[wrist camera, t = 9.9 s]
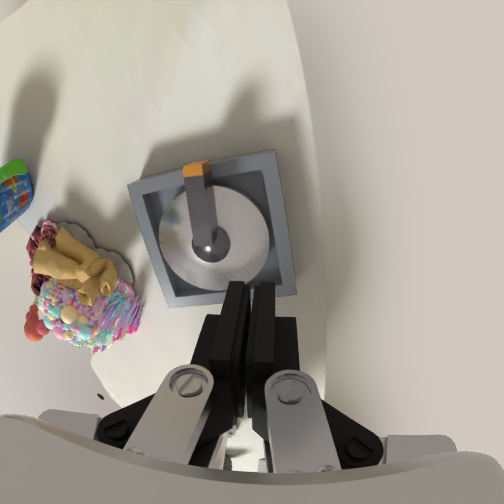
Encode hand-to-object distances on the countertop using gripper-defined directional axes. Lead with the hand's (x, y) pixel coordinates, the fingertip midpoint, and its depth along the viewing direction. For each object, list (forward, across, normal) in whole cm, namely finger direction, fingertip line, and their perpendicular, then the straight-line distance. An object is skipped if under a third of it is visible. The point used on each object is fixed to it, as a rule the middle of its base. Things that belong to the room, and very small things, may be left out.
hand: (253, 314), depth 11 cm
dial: (+20, +6, +4) cm, 21 cm away
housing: (+22, +6, +5) cm, 23 cm away
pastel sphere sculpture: (+23, +30, +16) cm, 41 cm away
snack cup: (+22, +38, -2) cm, 44 cm away
